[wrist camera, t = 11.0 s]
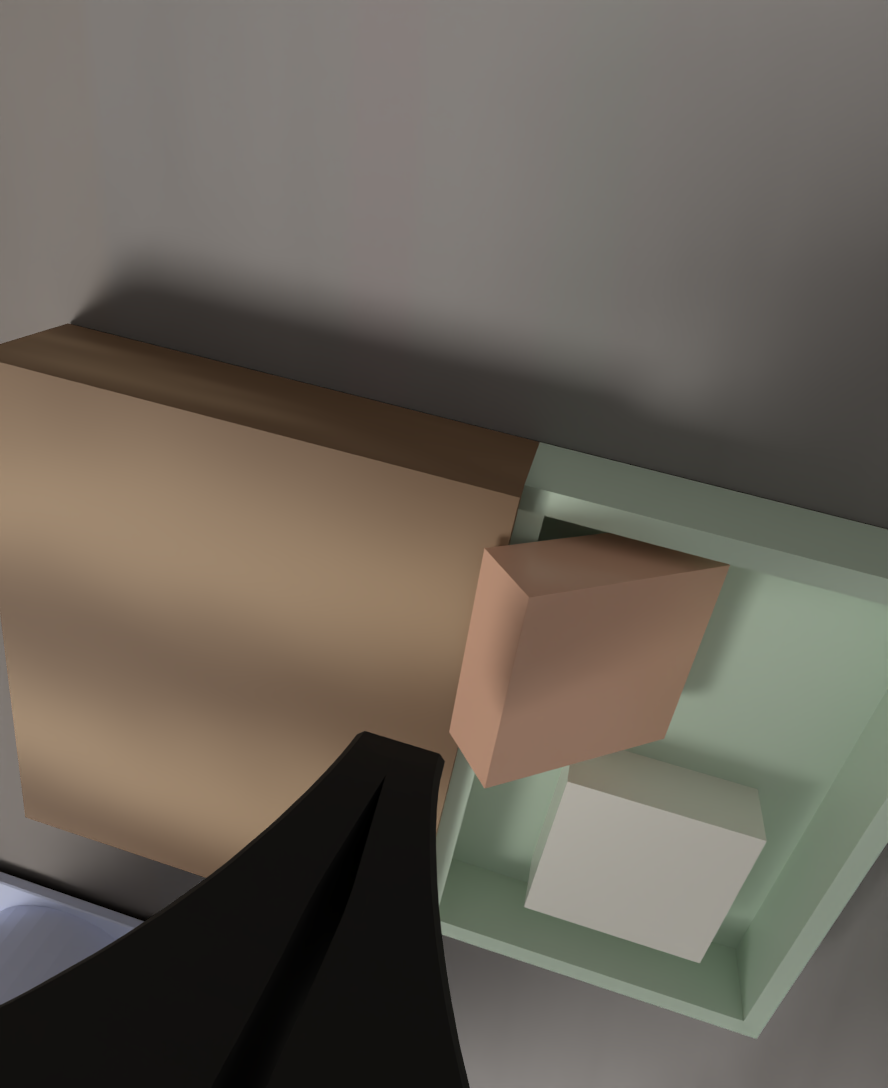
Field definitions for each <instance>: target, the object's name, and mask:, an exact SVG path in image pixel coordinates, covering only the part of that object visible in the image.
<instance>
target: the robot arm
mask: <svg viewBox="0 0 888 1088" xmlns="http://www.w3.org/2000/svg"><path fill="white" fill-rule="evenodd" d="M444 764H445V761H444V759H443V758H442V756H441V755H440V754H439V753H436V752H433V751H429V750H426V749H423V748H420V747H416V746H413V745H410V744H406V743H403V742H400V741H397V740H393V739H390V738H387V737H383V736H380V735H377V734H374V733H370V732H367V731H363V732H361V733H359V734H357V735H356V736H355V737H354V739H353V740H352V741H351V743H350V744H349V745H348V746H347V748H346V749H345V750H344V751H343V752H342V753H341V755H340V756H339V757H338V758H337V759H336V760H335V761H334V763H333V764H332V765H331V766H330V767H329V768H328V769H327V770H326V771H325V772H324V773H323V774H322V775H321V776H320V777H319V779H318V780H317V781H316V782H315V783H314V784H313V785H312V786H311V787H310V788H309V789H308V790H307V791H306V792H305V793H304V794H303V795H302V796H301V797H299V798H298V799H297V800H296V801H295V802H294V803H293V804H292V805H291V806H290V807H289V808H288V809H287V810H286V811H285V812H284V813H283V814H282V815H281V816H280V817H279V818H277V819H276V820H275V821H274V822H273V823H272V824H271V825H270V826H269V827H267V828H266V829H265V830H264V831H263V832H262V833H260V834H259V835H258V836H257V837H256V838H255V839H253V840H252V841H251V842H250V843H249V844H248V845H246V846H245V847H244V848H243V849H242V850H240V851H239V852H238V853H237V854H236V855H235V856H233V857H232V858H231V859H230V860H229V861H227V862H226V863H225V864H224V865H222V866H221V867H220V868H218V869H217V870H216V871H215V872H213V873H212V874H211V875H210V876H208V877H207V878H206V879H204V880H203V881H202V882H200V883H199V884H198V885H196V886H195V887H194V888H192V889H191V890H189V891H188V892H187V893H185V894H184V895H182V896H181V897H180V898H178V899H177V900H176V901H174V902H173V903H171V904H170V905H168V906H167V907H166V908H164V909H163V910H161V911H160V912H158V913H157V914H155V915H154V916H152V917H151V918H149V919H148V920H146V921H142V920H139V919H136V918H133V917H130V916H127V915H124V914H122V913H119V912H116V911H113V910H110V909H107V908H104V907H101V906H98V905H96V904H93V903H90V902H87V901H84V900H81V899H78V898H75V897H72V896H70V895H67V894H64V893H61V892H58V891H55V890H52V889H49V888H46V887H44V886H41V885H38V884H35V883H32V882H29V881H26V880H23V879H20V878H17V877H15V876H12V875H9V874H6V873H3V872H0V1088H470V1087H469V1083H468V1079H467V1074H466V1070H465V1066H464V1062H463V1057H462V1053H461V1049H460V1044H459V1039H458V1034H457V1029H456V1023H455V1018H454V1013H453V1008H452V1002H451V996H450V990H449V984H448V977H447V971H446V964H445V957H444V949H443V941H442V932H441V922H440V911H439V900H438V885H437V858H436V822H437V803H438V793H439V785H440V780H441V776H442V772H443V768H444Z"/></svg>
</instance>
